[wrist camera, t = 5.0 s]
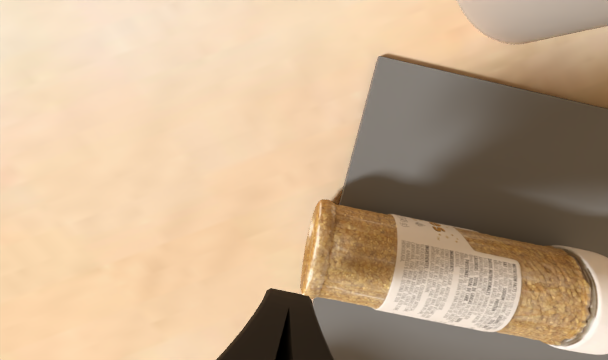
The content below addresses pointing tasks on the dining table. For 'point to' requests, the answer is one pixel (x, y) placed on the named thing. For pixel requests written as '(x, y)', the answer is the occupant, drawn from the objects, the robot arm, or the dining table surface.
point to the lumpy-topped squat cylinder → (533, 18)
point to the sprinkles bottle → (458, 277)
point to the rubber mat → (469, 193)
